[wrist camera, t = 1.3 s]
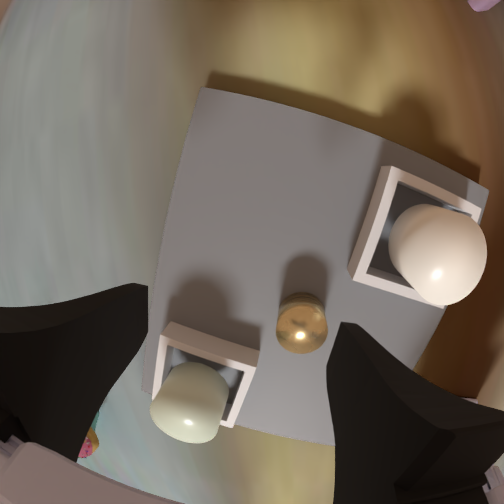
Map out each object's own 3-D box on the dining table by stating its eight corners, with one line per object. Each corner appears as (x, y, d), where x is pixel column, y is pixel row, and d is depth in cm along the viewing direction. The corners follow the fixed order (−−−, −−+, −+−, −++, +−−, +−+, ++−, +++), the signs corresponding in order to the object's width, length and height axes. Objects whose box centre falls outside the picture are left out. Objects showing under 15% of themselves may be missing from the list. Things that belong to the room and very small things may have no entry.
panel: (478, 188, 17) (505, 193, 13) (354, 437, 23) (357, 464, 20) (207, 92, 18) (190, 77, 14) (148, 380, 24) (132, 404, 21)
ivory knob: (463, 219, 14) (497, 231, 11) (437, 288, 15) (464, 314, 12) (403, 192, 14) (431, 198, 11) (377, 267, 16) (396, 292, 12)
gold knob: (331, 299, 19) (335, 317, 16) (314, 338, 19) (316, 359, 17) (286, 285, 19) (285, 302, 16) (272, 326, 20) (269, 345, 17)
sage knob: (235, 374, 19) (224, 411, 15) (221, 415, 20) (210, 450, 17) (173, 353, 19) (152, 385, 16) (166, 395, 20) (147, 427, 17)
